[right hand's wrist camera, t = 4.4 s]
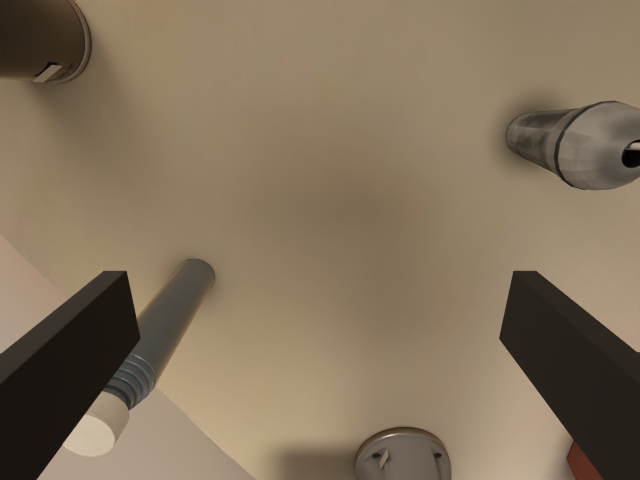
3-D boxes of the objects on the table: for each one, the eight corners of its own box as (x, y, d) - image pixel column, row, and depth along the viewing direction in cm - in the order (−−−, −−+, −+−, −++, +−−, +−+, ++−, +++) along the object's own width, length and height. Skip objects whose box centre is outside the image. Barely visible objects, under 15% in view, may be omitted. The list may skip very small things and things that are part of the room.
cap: (70, 389, 27) (50, 412, 25) (126, 392, 27) (110, 415, 25) (79, 429, 28) (61, 455, 26) (132, 432, 28) (117, 458, 26)
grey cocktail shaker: (507, 178, 43) (648, 239, 25) (484, 122, 41) (620, 143, 22) (568, 145, 42) (766, 184, 23) (547, 86, 40) (749, 76, 21)
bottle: (176, 257, 47) (46, 402, 25) (214, 259, 47) (119, 406, 25) (178, 290, 49) (59, 454, 27) (215, 293, 49) (127, 457, 27)
